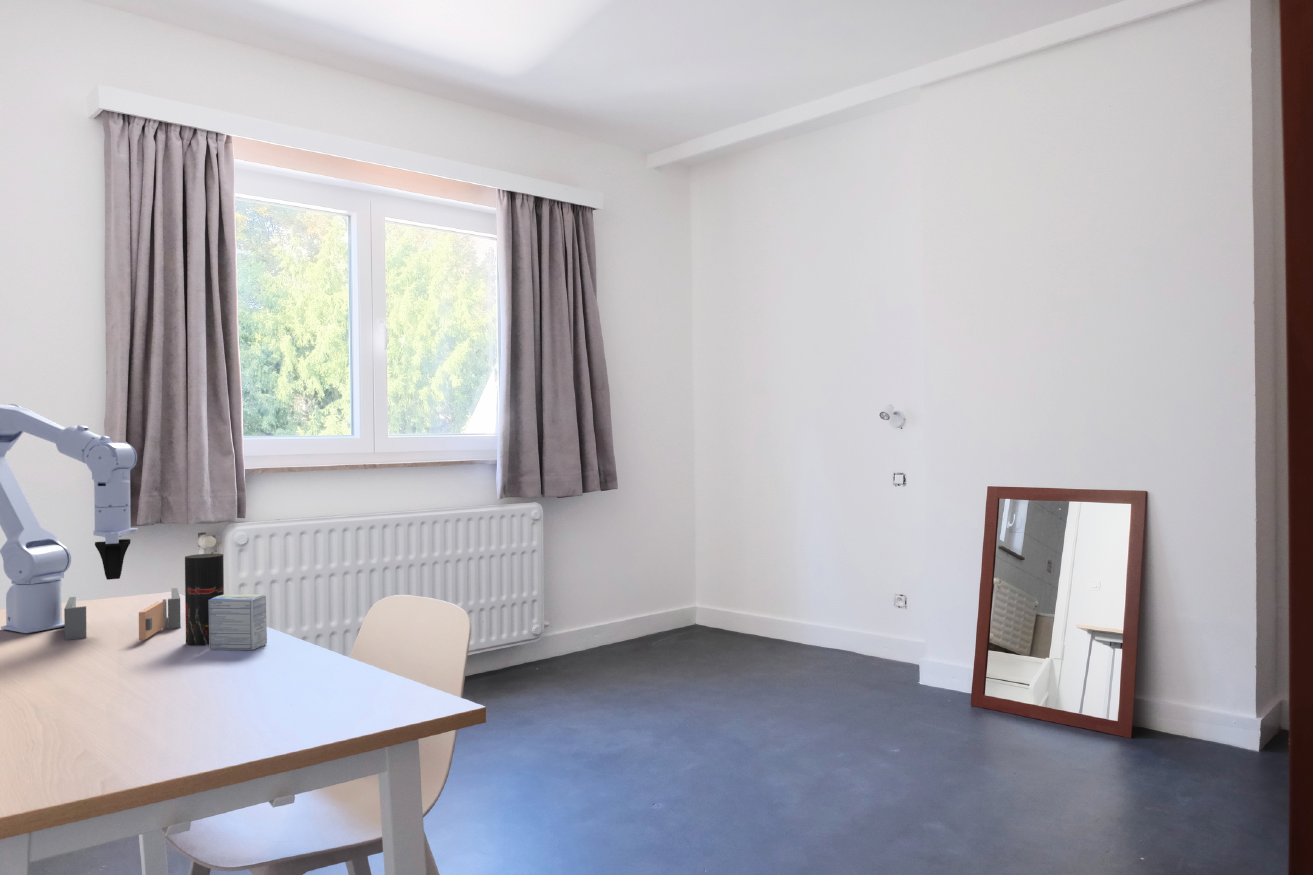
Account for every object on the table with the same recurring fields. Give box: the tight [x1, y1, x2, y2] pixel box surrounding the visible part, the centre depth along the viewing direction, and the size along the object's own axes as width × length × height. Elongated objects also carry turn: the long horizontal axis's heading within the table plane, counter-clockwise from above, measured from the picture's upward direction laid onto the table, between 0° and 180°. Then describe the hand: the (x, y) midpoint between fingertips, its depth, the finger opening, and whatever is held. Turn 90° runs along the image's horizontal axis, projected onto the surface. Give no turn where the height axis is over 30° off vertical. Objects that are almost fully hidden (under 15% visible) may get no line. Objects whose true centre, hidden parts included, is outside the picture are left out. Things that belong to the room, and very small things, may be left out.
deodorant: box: [184, 553, 225, 647], centre depth 150 cm, size 6×6×15 cm
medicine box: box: [208, 593, 268, 651], centre depth 146 cm, size 8×4×9 cm, turn 84°
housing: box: [63, 587, 181, 641], centre depth 163 cm, size 14×18×6 cm
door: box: [138, 600, 164, 641], centre depth 155 cm, size 2×10×5 cm, turn 14°
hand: (113, 578), depth 162 cm, fingers closed
